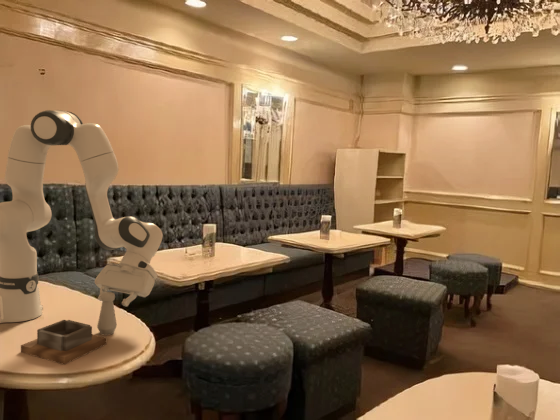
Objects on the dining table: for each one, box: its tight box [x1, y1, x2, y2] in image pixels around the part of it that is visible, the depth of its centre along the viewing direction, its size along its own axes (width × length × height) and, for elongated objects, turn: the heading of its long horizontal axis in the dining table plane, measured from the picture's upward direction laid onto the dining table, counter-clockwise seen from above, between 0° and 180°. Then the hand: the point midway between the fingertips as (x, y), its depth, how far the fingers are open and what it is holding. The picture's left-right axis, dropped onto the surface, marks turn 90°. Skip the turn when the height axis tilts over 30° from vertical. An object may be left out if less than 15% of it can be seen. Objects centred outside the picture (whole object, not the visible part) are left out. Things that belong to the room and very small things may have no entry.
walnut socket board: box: [20, 319, 107, 365], centre depth 141 cm, size 16×16×6 cm
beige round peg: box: [96, 291, 118, 336], centre depth 154 cm, size 6×6×13 cm
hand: (112, 302), depth 155 cm, fingers open, 8 cm apart
